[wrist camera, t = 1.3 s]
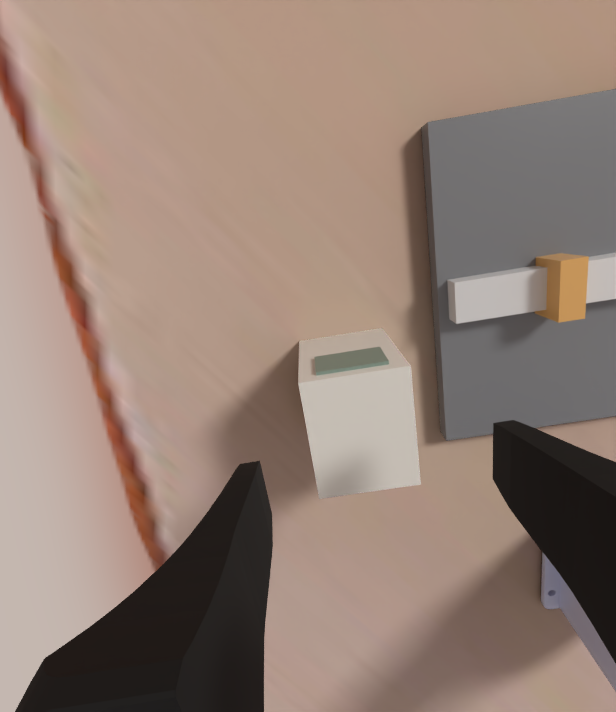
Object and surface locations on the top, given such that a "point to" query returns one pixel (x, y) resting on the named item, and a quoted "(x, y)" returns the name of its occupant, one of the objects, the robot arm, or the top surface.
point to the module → (358, 413)
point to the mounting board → (523, 263)
